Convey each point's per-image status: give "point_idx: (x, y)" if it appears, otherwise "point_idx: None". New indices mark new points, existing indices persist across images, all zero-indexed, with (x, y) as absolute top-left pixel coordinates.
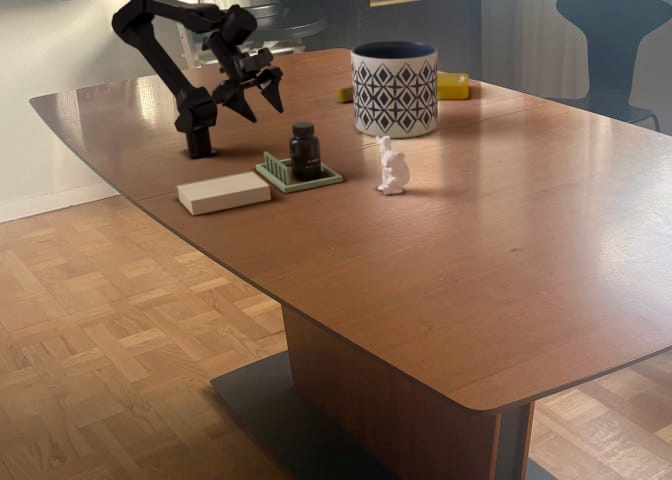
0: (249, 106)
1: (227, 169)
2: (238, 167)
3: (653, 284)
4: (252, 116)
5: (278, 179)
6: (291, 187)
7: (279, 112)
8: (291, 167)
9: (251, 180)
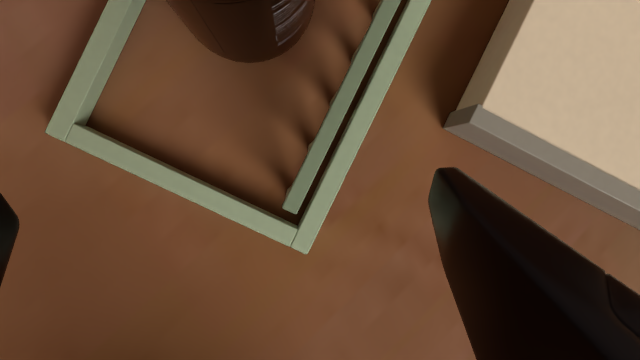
0: (542, 283)
1: (368, 353)
2: (325, 333)
3: None
4: (495, 199)
5: (397, 29)
6: None
7: (14, 236)
8: (301, 24)
9: (567, 33)
